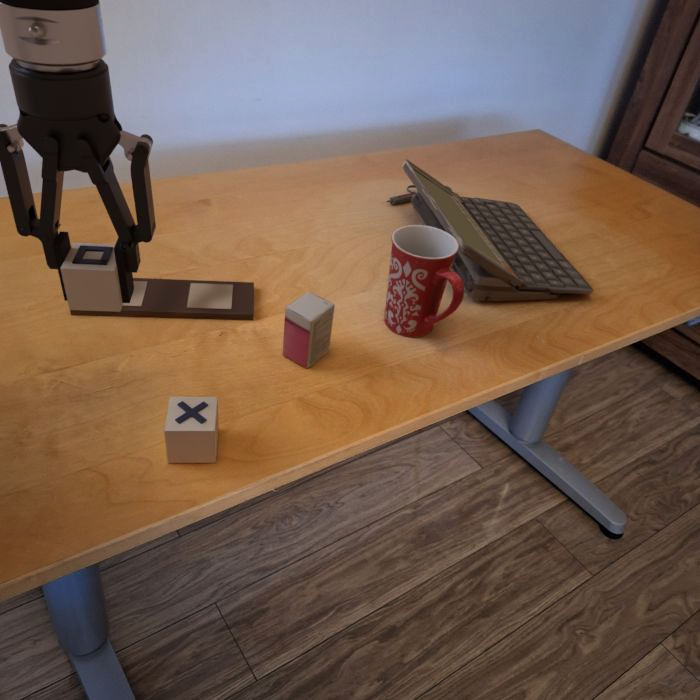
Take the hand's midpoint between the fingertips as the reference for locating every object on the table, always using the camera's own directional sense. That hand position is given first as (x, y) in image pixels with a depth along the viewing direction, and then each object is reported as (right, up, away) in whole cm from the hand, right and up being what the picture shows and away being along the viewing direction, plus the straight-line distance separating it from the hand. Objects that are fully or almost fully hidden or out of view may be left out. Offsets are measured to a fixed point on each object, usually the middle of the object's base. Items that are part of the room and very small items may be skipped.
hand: (100, 294), depth 65 cm
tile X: (+9, -16, +3) cm, 19 cm away
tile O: (0, 0, 0) cm, 0 cm away
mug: (+36, -3, +24) cm, 43 cm away
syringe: (+39, +24, +57) cm, 73 cm away
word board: (0, +1, +22) cm, 22 cm away
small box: (+20, -6, +17) cm, 27 cm away
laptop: (+50, +11, +44) cm, 68 cm away
